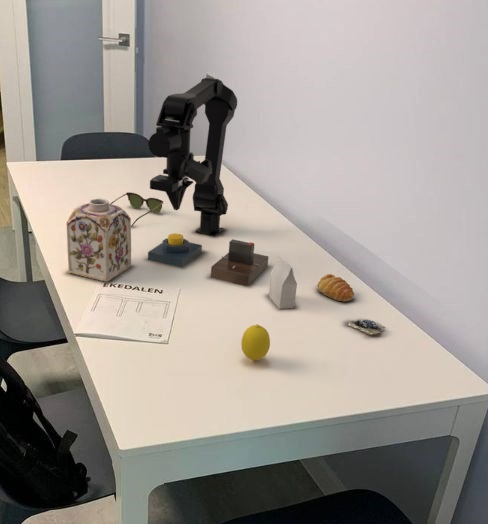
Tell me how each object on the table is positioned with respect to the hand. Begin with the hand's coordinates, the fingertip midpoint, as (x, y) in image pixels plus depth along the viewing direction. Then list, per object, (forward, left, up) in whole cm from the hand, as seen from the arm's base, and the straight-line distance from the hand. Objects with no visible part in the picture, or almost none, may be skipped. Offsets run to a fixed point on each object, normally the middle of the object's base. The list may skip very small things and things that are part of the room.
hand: (176, 209), depth 173 cm
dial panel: (+1, +19, -13) cm, 23 cm away
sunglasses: (-21, -26, -13) cm, 36 cm away
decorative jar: (+18, -12, -13) cm, 25 cm away
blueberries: (+16, +52, -10) cm, 55 cm away
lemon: (+40, +38, -13) cm, 57 cm away
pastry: (+1, +44, -13) cm, 46 cm away
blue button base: (0, 0, -13) cm, 13 cm away
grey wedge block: (+12, +34, -13) cm, 38 cm away
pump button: (0, 0, -9) cm, 9 cm away
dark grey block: (+1, +19, -10) cm, 21 cm away
